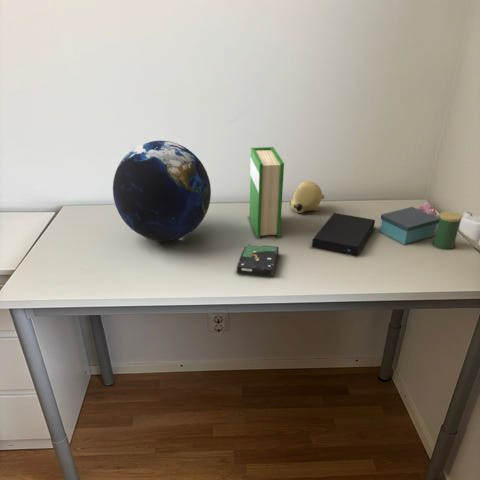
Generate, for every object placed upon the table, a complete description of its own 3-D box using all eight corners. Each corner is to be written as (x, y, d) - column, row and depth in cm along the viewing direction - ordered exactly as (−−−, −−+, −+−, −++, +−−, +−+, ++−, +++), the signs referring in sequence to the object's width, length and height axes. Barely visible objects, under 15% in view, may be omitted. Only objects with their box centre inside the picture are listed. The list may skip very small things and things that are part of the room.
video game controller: (427, 230, 175) (441, 213, 172) (417, 224, 174) (430, 207, 171) (419, 219, 184) (432, 202, 180) (409, 213, 183) (422, 196, 179)
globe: (230, 234, 168) (230, 140, 152) (164, 267, 149) (155, 164, 132) (167, 211, 184) (160, 124, 167) (100, 238, 165) (84, 143, 148)
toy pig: (299, 214, 192) (280, 198, 186) (321, 189, 189) (302, 171, 183) (309, 224, 184) (289, 207, 178) (332, 197, 181) (312, 179, 175)
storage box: (408, 223, 177) (412, 206, 173) (435, 236, 168) (439, 218, 165) (378, 231, 171) (381, 214, 167) (404, 245, 162) (408, 227, 159)
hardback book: (279, 237, 167) (284, 163, 153) (257, 238, 166) (259, 164, 152) (270, 216, 181) (273, 147, 168) (249, 217, 180) (250, 147, 167)
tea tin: (442, 239, 166) (450, 210, 160) (458, 246, 162) (466, 216, 156) (429, 243, 163) (436, 213, 158) (444, 251, 159) (452, 220, 153)
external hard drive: (373, 228, 173) (375, 219, 171) (356, 256, 156) (357, 247, 154) (332, 220, 178) (333, 212, 176) (311, 247, 160) (312, 238, 159)
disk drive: (272, 278, 144) (278, 254, 156) (273, 269, 143) (278, 245, 155) (236, 275, 146) (244, 251, 158) (236, 266, 144) (245, 243, 156)
